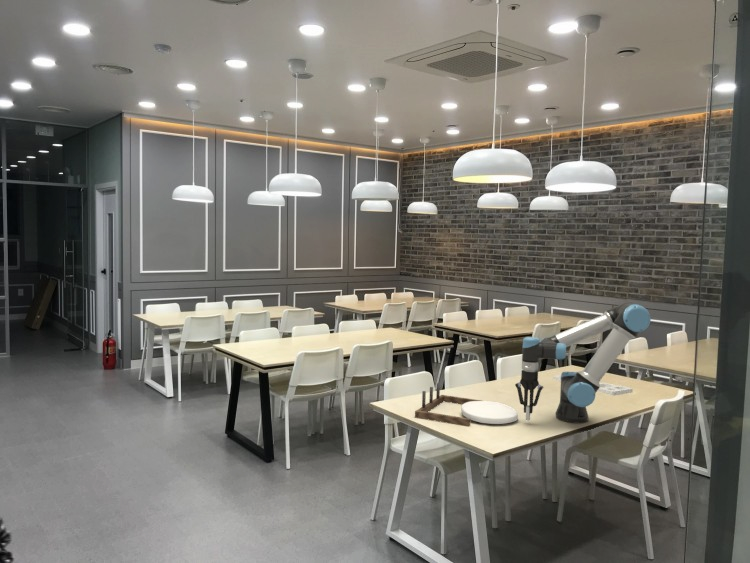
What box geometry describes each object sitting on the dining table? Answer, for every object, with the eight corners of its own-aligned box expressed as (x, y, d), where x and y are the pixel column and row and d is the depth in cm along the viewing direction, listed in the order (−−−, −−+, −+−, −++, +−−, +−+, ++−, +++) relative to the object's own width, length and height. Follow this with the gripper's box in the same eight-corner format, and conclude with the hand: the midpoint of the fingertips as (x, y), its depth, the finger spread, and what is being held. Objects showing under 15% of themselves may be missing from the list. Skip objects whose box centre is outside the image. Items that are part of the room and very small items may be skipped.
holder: (552, 380, 371) (552, 375, 371) (571, 377, 380) (571, 373, 380) (612, 396, 332) (612, 391, 332) (632, 393, 341) (632, 388, 341)
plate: (529, 414, 273) (480, 419, 264) (528, 427, 274) (479, 432, 265) (497, 393, 299) (451, 397, 289) (496, 405, 300) (450, 409, 290)
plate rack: (490, 407, 300) (491, 386, 299) (468, 426, 267) (469, 402, 266) (441, 400, 312) (442, 380, 312) (414, 417, 279) (415, 394, 279)
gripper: (514, 370, 271) (512, 419, 273) (542, 373, 266) (540, 423, 267) (517, 367, 278) (515, 415, 280) (545, 370, 272) (543, 419, 274)
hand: (527, 419), depth 273 cm, fingers closed
